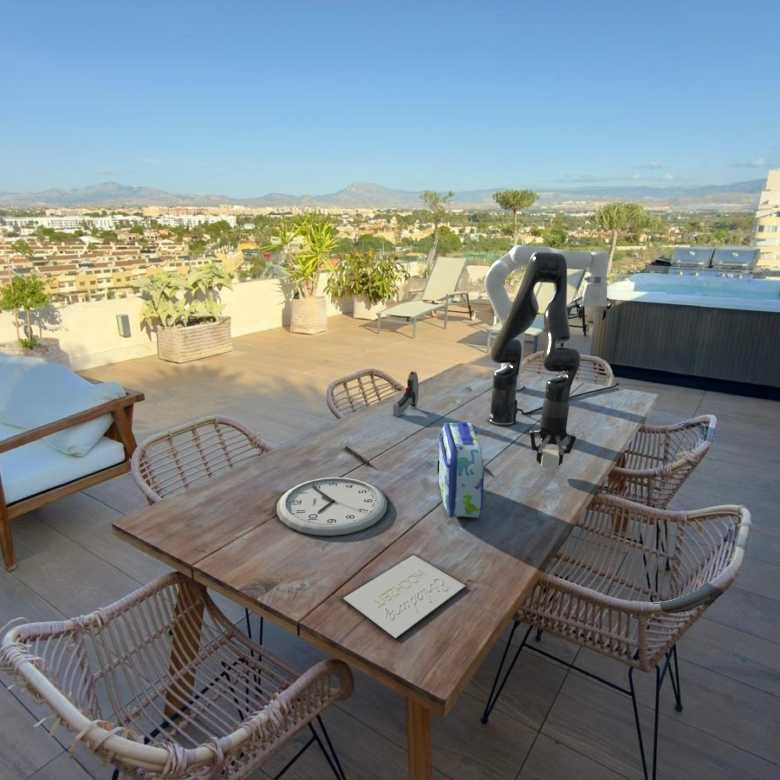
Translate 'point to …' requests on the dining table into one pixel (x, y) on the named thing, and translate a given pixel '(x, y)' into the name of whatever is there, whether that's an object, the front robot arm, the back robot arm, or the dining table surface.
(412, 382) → the toy gun
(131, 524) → the dining table surface
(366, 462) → the brown thin rod
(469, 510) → the lunch box
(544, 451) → the block
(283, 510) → the wall clock
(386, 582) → the invitation card
